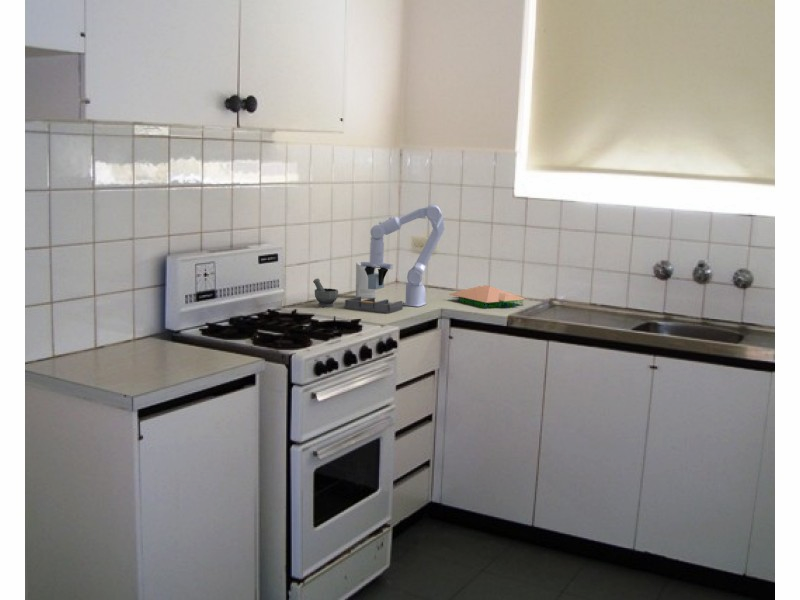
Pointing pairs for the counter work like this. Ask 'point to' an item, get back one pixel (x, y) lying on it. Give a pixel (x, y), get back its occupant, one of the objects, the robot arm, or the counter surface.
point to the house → (487, 296)
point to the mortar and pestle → (325, 295)
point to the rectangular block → (374, 281)
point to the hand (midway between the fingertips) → (375, 284)
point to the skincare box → (363, 283)
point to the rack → (373, 305)
